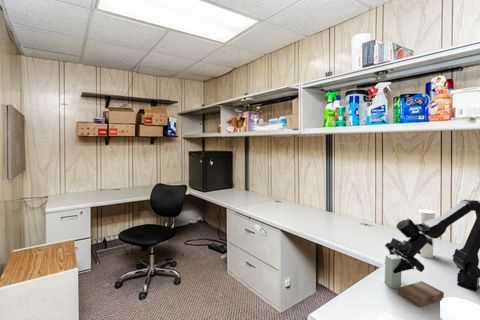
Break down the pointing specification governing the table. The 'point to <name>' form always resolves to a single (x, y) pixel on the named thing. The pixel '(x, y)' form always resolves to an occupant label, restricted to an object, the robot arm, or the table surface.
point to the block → (391, 277)
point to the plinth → (420, 293)
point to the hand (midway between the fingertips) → (390, 269)
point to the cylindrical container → (427, 249)
